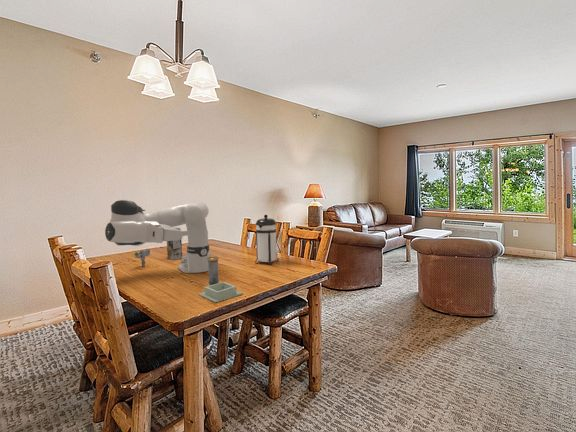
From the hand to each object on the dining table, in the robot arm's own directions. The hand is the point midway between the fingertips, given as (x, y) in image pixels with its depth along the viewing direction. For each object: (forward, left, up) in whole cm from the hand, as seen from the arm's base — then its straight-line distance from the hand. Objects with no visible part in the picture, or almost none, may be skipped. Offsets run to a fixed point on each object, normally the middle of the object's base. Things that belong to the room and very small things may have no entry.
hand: (184, 231), depth 137 cm
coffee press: (-16, +62, -29) cm, 70 cm away
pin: (0, +14, -28) cm, 32 cm away
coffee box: (-70, +27, -29) cm, 80 cm away
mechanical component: (-63, +4, -29) cm, 69 cm away
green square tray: (+12, +10, -28) cm, 32 cm away
